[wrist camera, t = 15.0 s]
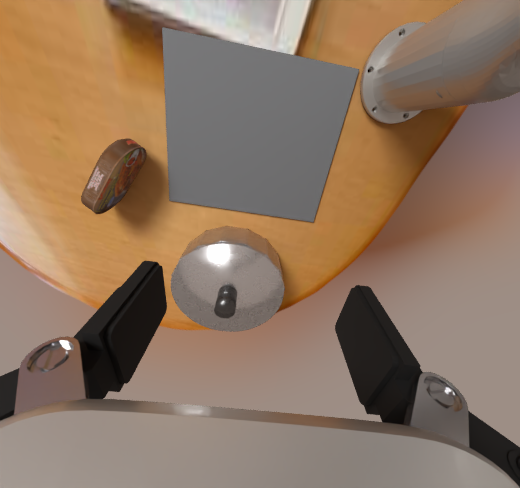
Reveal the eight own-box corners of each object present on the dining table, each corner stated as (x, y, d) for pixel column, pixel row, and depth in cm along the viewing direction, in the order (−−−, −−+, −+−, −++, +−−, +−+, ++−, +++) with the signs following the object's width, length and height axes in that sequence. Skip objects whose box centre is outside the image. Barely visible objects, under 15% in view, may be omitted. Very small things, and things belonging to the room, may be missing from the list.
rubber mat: (358, 69, 34) (359, 69, 33) (312, 221, 46) (313, 222, 46) (163, 28, 31) (162, 27, 31) (170, 199, 43) (169, 200, 43)
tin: (118, 206, 44) (89, 222, 37) (103, 196, 43) (70, 210, 36) (153, 147, 39) (128, 151, 31) (137, 134, 38) (108, 135, 30)
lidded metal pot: (290, 234, 47) (300, 267, 36) (271, 312, 59) (274, 355, 47) (181, 219, 45) (156, 248, 34) (182, 302, 57) (163, 345, 45)
